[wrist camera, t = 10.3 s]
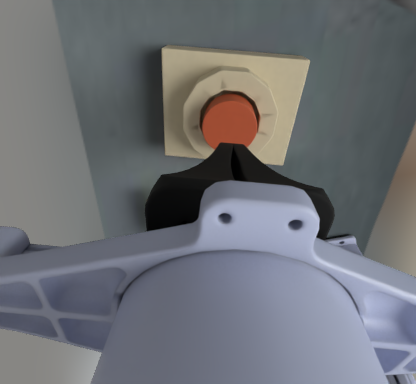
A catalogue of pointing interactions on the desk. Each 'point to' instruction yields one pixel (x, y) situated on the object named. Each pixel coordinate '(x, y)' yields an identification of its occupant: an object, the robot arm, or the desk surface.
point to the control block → (230, 84)
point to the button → (229, 121)
